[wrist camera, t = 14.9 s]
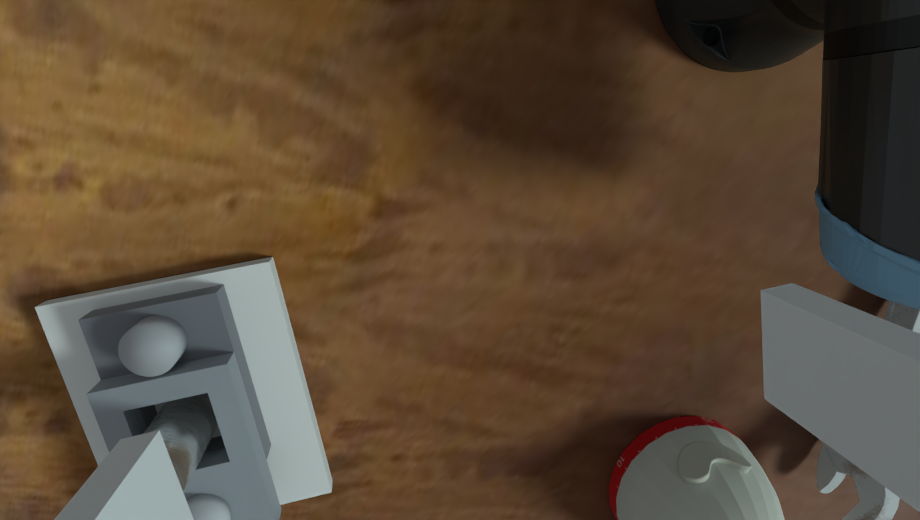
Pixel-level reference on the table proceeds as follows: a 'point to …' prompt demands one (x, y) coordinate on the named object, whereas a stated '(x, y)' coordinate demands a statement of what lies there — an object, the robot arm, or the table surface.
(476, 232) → the table surface
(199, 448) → the pin
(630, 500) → the kitchen timer
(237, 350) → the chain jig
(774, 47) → the robot arm
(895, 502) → the wrench
